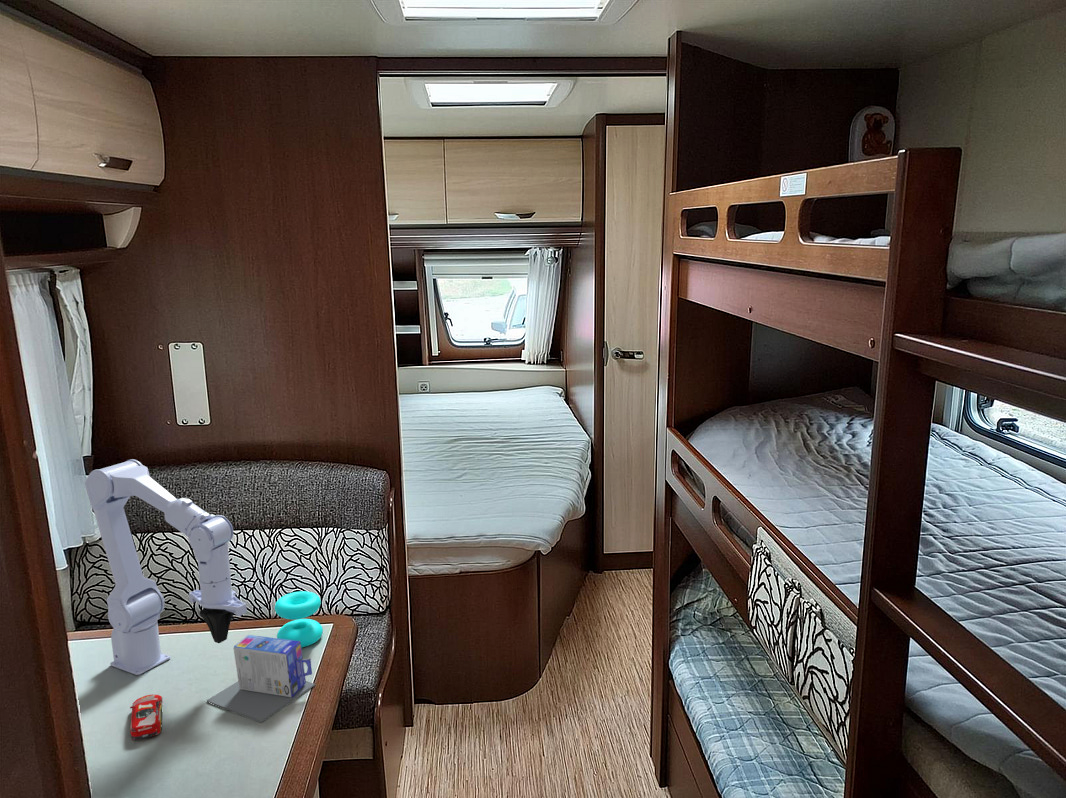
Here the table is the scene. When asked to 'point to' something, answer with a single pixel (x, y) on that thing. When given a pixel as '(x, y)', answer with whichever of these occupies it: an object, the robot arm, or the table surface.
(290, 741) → the table surface
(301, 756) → the table surface
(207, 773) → the table surface
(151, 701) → the race car
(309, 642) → the donuts
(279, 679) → the ink cartridge box
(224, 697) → the mat
